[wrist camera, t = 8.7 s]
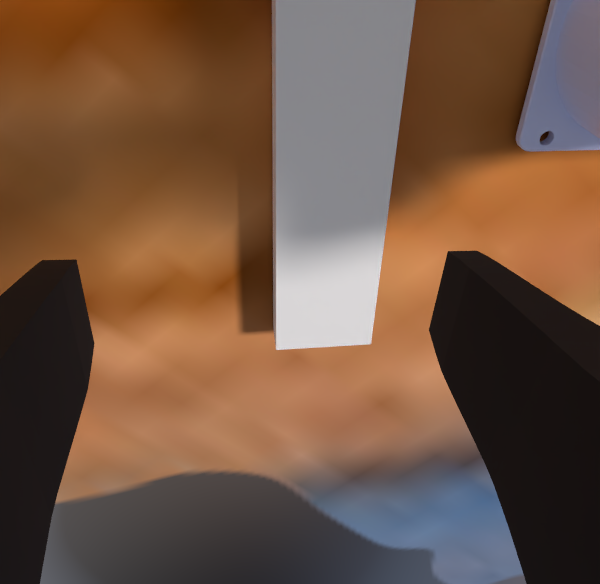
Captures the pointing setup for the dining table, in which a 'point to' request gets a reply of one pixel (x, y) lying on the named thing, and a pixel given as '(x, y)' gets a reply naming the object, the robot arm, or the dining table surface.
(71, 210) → the dining table surface
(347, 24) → the white flat plank
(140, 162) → the dining table surface
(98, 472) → the dining table surface
